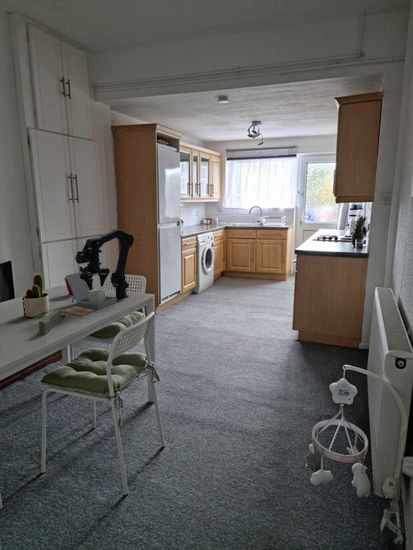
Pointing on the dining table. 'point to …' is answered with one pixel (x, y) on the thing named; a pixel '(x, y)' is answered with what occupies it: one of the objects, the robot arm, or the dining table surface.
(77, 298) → the equipment case
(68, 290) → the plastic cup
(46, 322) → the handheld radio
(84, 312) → the board
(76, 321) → the dining table surface
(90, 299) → the block
